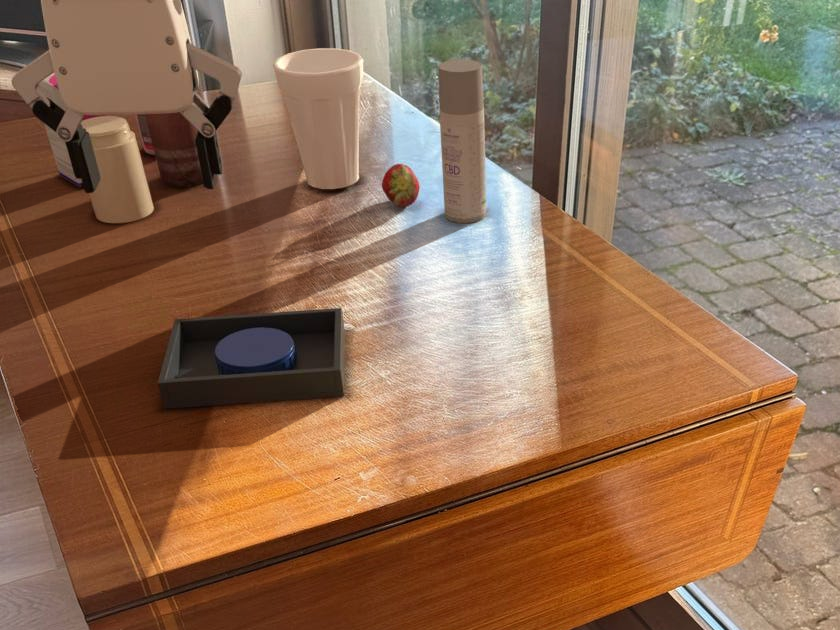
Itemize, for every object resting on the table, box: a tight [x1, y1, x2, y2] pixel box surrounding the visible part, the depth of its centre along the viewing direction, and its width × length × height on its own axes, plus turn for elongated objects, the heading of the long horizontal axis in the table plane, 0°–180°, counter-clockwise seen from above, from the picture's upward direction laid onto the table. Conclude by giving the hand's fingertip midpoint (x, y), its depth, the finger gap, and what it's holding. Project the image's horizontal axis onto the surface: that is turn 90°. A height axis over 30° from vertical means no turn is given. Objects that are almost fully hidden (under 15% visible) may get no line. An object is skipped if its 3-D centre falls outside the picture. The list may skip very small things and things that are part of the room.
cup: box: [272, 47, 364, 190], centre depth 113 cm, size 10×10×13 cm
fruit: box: [381, 163, 421, 208], centre depth 111 cm, size 4×6×5 cm
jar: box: [81, 115, 155, 224], centre depth 110 cm, size 7×7×9 cm
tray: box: [157, 307, 346, 410], centre depth 87 cm, size 15×11×2 cm
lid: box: [215, 328, 297, 375], centre depth 87 cm, size 7×7×2 cm
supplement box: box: [39, 73, 107, 188], centre depth 117 cm, size 6×6×12 cm
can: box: [145, 112, 204, 188], centre depth 115 cm, size 6×6×14 cm
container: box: [437, 58, 487, 224], centre depth 105 cm, size 5×5×15 cm
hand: (152, 184), depth 82 cm, fingers open, 9 cm apart
